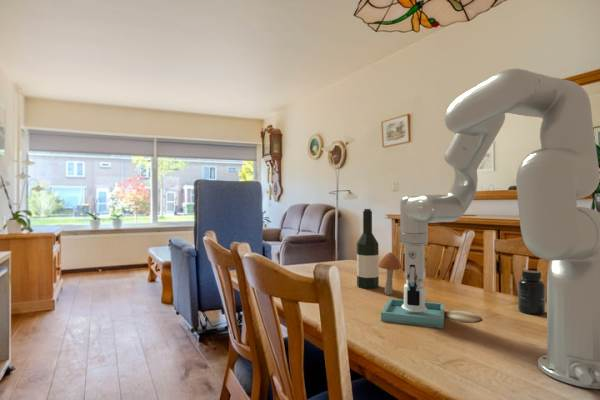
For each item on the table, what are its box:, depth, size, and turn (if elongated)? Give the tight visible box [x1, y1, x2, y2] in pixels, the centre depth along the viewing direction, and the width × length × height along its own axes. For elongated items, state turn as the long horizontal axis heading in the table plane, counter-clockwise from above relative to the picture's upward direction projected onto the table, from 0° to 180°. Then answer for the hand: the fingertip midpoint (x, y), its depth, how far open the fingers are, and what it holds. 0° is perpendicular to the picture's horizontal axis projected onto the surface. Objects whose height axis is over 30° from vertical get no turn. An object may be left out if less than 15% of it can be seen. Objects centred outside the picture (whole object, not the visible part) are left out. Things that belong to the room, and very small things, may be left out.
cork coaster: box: [445, 310, 482, 323], centre depth 105 cm, size 9×9×1 cm
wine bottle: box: [356, 208, 380, 290], centre depth 144 cm, size 8×8×30 cm
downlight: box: [401, 275, 427, 312], centre depth 106 cm, size 8×7×10 cm
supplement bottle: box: [517, 269, 546, 316], centre depth 110 cm, size 7×7×12 cm
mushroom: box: [379, 252, 403, 296], centre depth 131 cm, size 8×8×15 cm
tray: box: [380, 297, 445, 329], centre depth 106 cm, size 16×16×2 cm
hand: (414, 301), depth 106 cm, fingers closed on downlight, 5 cm apart
